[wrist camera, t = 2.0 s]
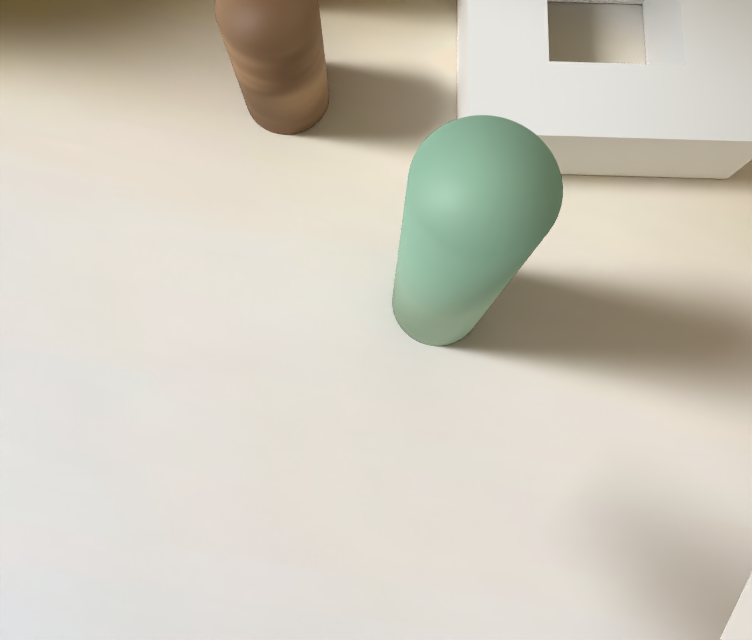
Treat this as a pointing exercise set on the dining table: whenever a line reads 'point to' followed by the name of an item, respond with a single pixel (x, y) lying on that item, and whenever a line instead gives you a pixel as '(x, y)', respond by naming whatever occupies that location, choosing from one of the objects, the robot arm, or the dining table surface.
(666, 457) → the dining table surface
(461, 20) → the white square hole block
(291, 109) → the short pin
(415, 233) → the tall pin
